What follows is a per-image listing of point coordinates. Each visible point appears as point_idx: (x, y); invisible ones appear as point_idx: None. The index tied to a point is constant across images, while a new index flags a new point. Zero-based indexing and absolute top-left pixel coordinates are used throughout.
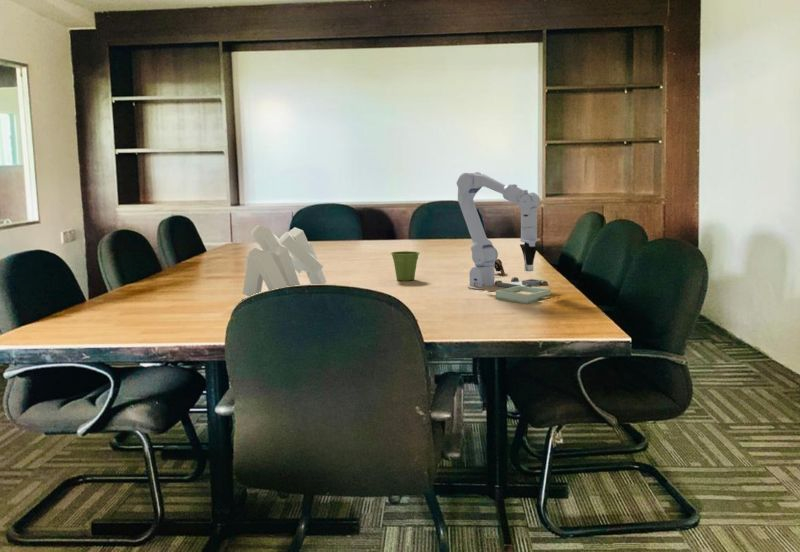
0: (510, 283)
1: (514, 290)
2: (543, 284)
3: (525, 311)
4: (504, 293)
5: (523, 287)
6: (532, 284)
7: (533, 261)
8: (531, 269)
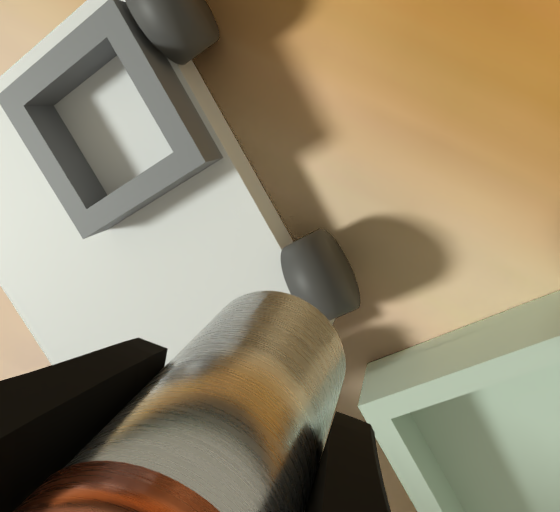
0: (31, 293)
1: (433, 474)
2: (206, 34)
3: None
4: None
5: (436, 399)
6: (198, 170)
7: (376, 462)
8: (341, 369)
